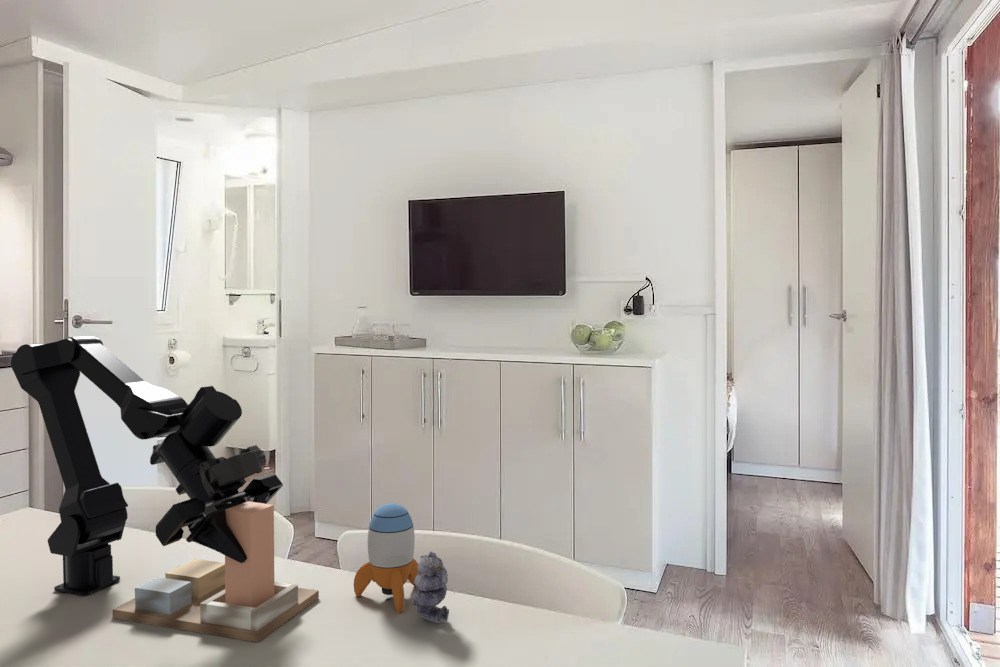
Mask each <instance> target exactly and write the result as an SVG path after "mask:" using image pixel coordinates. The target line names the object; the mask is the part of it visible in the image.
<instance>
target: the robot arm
mask: <svg viewBox="0 0 1000 667" xmlns="http://www.w3.org/2000/svg"><path fill="white" fill-rule="evenodd" d="M10 366H11V370H12V371H13V373H14V375H15V377H16V380H17V382H18V385H19V387H20V388H21V389H22V390H23V392H25V393H27V394H28V395H29V396H31V398H33V399H34V400H35V401H37V403H38V406H39V408H40V413H41V416H42V418H43V422H44V425H45V429H46V432H47V434H48V438H49V441H50V444H51V448H52V451H53V454H54V457H55V461H56V464H57V466H58V469H59V474H60V476H61V479H62V483H63V486H64V492H63V496H62V499H61V502H60V505H59V508H58V512H59V513H58V514H59V518H60V523H59V524H58V526H57V527H56V528H55V529H54V530H53V532H52V533H51V534H50V536H49V537H48V538H47V544H48V549H49V551H50V553H51V554H52V555H53V554H54V555H58V556H59V555H60V556H62V571H63V572H62V575H63V576H62V577H63V581H62V582H63V583H60V584H58V585H56V586H54V587H53V590H54V591H56V592H62V593H67V594H73V595H80V596H87V595H90V594H92V593H94V592H96V591H98V590H101V589H102V588H105V587H107V586H109V585H112V584H114V583H115V582H118V581H120V580H121V576H119V575H115V574H114V566H113V565H114V564H113V563H114V562H113V561H114V560H113V558H114V557H113V555H112V545H111V544H110V543H112V542H116V541H120V540H122V537H123V534H124V530H125V526H126V522H127V520H128V518H129V517H128V510H127V507H129V505H128V503H127V501H126V499H125V497H124V495H123V494H124V493H123V487H122V486H121V484H120V483H119V482H115V483H110V482H109V481H107V480H106V479H105V478H103V476H102V473H101V471H100V468H99V467H100V466H99V464H98V462H97V459H96V455H95V453H94V449H93V446H92V443H91V440H90V437H89V434H88V431H87V428H86V424H85V421H84V418H83V415H82V412H81V408H80V406H79V402H78V399H77V396H76V389H77V385H78V383H79V380H80V377H81V374H82V375H84V377H86V378H87V379H88V380H89V381H90V382H92V383H93V385H94V386H95V387H97V388H98V389H100V391H101V392H103V393H104V394H105V395H106V396H107V397H108V398H110V399H111V400H112V401H113V402H114V403H115V404H116V405H117V407H119V410H120V419H121V420H122V423H124V425H125V426H126V427H127V428H128V430H130V432H131V434H133V435H134V437H136V438H137V439H139V440H150V439H153V438H154V439H155V438H160V437H165V436H166V437H165V438H164V439H162V440H163V441H162V442H161V443H159V444H154V445H153V446H152V452H151V455H150V459H149V462H150V463H149V464H150V465H152V466H155V465H158V464H161V463H162V464H163V463H164V464H165V466H167V468H168V469H169V471H170V472H171V474H172V475H173V476H174V478H175V480H176V481H177V482H178V485H177V487H176V488H175V492H176V493H177V494H178V496H181V495H184V494H186V495H187V497H188V498H189V499H187V500H183V501H180V502H177V503H173V505H172V506H171V507H170V508H169V509H168V511H166V513H165V514H164V515H163V516H162V518H161V519H160V520H159V521H158V522H157V524H156V525H155V537H156V538H157V540H158V541H159V542H160V545H161V546H163V547H166V546H168V545H171V544H174V543H176V542H179V541H181V540H182V538H183V536H184V529H183V528H185V527H187V528H188V531H189V533H190V534H189V535H188V536H187V537H186V539H185V541H186V542H187V543H193V542H194V543H196V544H198V545H202V546H203V547H206V548H208V549H211V550H213V551H216V552H218V553H220V554H221V555H223V556H224V557H225V556H227V557H229V558H231V559H233V560H235V561H238V562H240V563H243V562H245V560H246V559H247V556H246V554H245V552H244V550H243V548H242V547H241V545H240V543H239V542H238V540H237V539H236V537H235V536H234V534H233V533H232V531H231V530H230V528H229V526H228V525H227V522H226V511H225V510H226V509H229V508H231V507H234V506H237V505H240V504H243V503H245V502H248V501H249V502H256V503H264V504H269V502H270V501H271V500H272V498H273V497H275V495H276V494H277V493H279V491H280V490H281V489H282V488H283V486H284V484H283V482H282V481H281V480H280V478H279V477H278V476H277V474H274V473H273V474H271V473H268V474H265V475H262V476H258V477H255V478H252V480H251V481H250V482H249V483H248V484H247V485H246V487H245V488H244V489H243V490H242V491H239V489H240V488H242V487H244V485H245V484H246V483H247V481H246V478H248V477H250V476H252V475H254V474H260V473H262V472H263V471H264V470H263V468H262V467H263V466H265V465H266V463H267V459H266V455H265V453H264V451H262V450H261V449H260V448H259V447H258V446H257V444H255V445H251V446H248V447H246V448H245V449H242V450H240V454H239V453H238V454H237V455H233V456H230V457H228V458H226V457H224V456H221V457H216V456H215V455H214V453H213V452H212V451H211V449H210V448H209V447H215V446H217V445H218V444H219V443H220V442H221V441H222V440H223V439H224V437H225V436H226V435H227V434H228V433H229V431H230V430H231V429H232V427H233V426H234V425H235V424H236V423H237V422H238V421H239V419H240V418H241V417H242V414H243V409H242V407H241V405H240V403H239V402H238V400H237V399H234V398H233V397H231V396H230V395H228V394H226V393H224V392H222V391H219V390H216V388H215V387H214V386H213V385H209V386H207V385H206V386H201V387H200V388H199V389H198V390H197V392H196V393H195V395H194V397H193V399H192V400H191V402H190V403H187V402H186V400H185V399H184V398H183V397H181V395H178V394H176V393H174V392H173V391H171V390H169V389H167V388H164V387H161V386H158V385H153V384H151V383H149V382H147V381H145V380H144V379H143V378H142V377H141V376H140V375H139V374H138V373H136V372H135V371H134V370H132V369H131V367H130V366H128V365H127V364H126V363H124V362H123V361H122V360H121V359H119V358H118V357H117V356H116V355H115V354H114V353H113V352H112V351H110V350H109V349H108V348H107V347H105V346H104V343H103V341H102V340H101V339H100V338H98V337H95V336H93V335H92V336H91V335H88V336H86V335H84V336H83V335H82V336H68V337H66V338H63V339H60V340H57V341H53V342H49V343H47V342H44V343H43V342H42V343H26V344H21V345H20V346H19V347H18V348H17V350H16V351H15V352H14V353H13V354H12V356H11V360H10Z"/></svg>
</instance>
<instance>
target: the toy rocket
mask: <svg viewBox="0 0 1000 667" xmlns="http://www.w3.org/2000/svg"><path fill="white" fill-rule="evenodd" d="M415 538H416V536H415V527H414V522H413V519H412V517H411V515H410V513H409V511H408V510H407V508H406V507H404V506H403V505H402V504H399V503H395V502H390V503H385V504H383V505H381V506H379V507H378V508H377V509H376V510H375V511H374V512H373V515H372V517H371V519H370V522H369V525H368V530H367V557H368V562H366V563H364V564H363V565H361V566H360V567H359V568H358V570H356V573H355V576H354V579H353V591H354V594H355V597H358V598H360V597H361V596H362V595H363V593H364V591H366V589H367V587H368V586H369V584H371V582H374V583H375V584H376V585H377V586H378V587H379V588H381V593H382V594H384V595H386V596H392V597H393V601H394V602H393V603H394V606H395V607H394V608H395V611H396V612H397V613H398V614H402V613H403V612H404V606H405V589H404V585H405V584H406V583H407V581H409V583H411V585H412V586H413V585H414V586H413V587H414V588H417V587H416V586H415V583H414V581H415V578H416V575H417V574H419V572H418V564H419V562H418V561H417V560H416V559H415V558H414V554H415Z"/></svg>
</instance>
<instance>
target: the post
mask: <svg viewBox="0 0 1000 667" xmlns="http://www.w3.org/2000/svg"><path fill="white" fill-rule="evenodd" d="M274 506H275V505H274V504H270V503H267V504H264V503H256V502H249V501H248V502H245V503H243V504H240V505H237V506H234V507H231V508H229V509H226V510H225V511H226V522H227V525H228V526H229V528H230V530H231V531H232V533H233V534H234V536H235V537H236V539H237V540H238V542H239V543H240V545H241V547H242V548H243V550H244V552H245V554H246V556H247V559H246V560H245V562H243V563H240V562H238V561H235V560H233V559H231V558H229V557H227V556H225V555H224V563H225V603H227V604H234V605H240V606H247V607H254V608H256V607H258V606H259V605H261V604H262V603H264V602H265V601H267V600H269V599H270V598H272V597H273V596H275V589H274V582H275V507H274Z"/></svg>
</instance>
